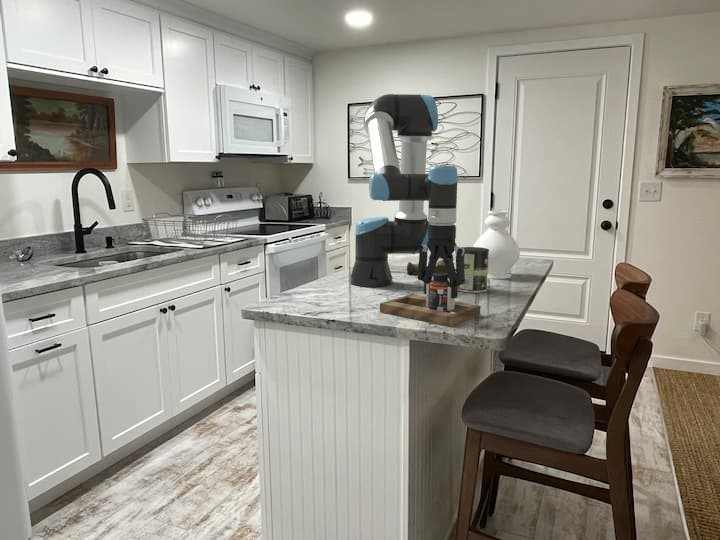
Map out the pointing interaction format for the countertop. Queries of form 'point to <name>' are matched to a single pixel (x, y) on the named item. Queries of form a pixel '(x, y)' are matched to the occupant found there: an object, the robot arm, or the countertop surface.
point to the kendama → (414, 269)
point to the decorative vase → (499, 245)
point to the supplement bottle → (439, 292)
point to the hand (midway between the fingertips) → (440, 307)
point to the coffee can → (475, 270)
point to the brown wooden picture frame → (429, 310)
